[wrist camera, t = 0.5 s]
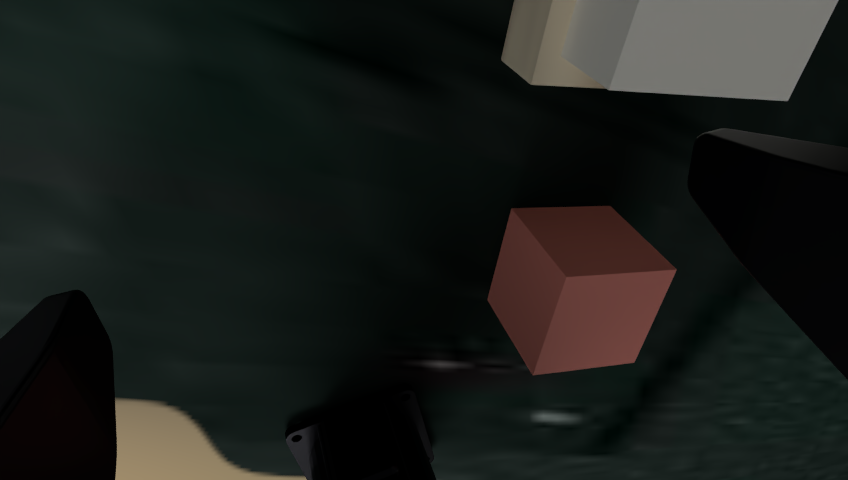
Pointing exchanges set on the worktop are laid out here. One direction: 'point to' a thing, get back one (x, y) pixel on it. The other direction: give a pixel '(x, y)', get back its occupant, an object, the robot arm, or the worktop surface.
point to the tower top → (696, 45)
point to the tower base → (542, 44)
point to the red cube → (576, 287)
